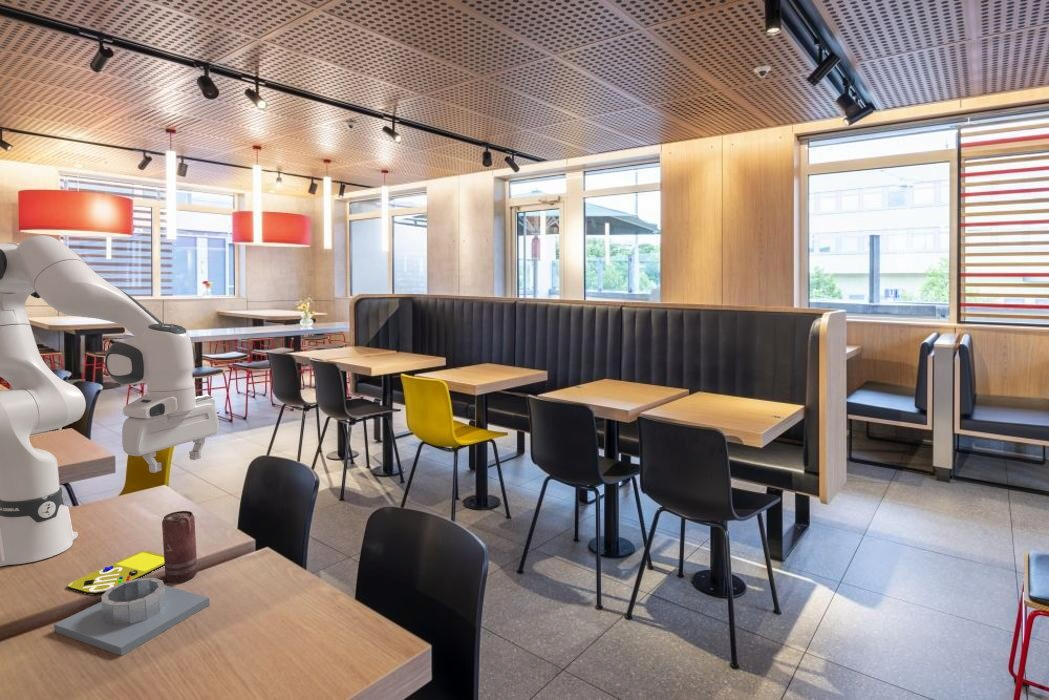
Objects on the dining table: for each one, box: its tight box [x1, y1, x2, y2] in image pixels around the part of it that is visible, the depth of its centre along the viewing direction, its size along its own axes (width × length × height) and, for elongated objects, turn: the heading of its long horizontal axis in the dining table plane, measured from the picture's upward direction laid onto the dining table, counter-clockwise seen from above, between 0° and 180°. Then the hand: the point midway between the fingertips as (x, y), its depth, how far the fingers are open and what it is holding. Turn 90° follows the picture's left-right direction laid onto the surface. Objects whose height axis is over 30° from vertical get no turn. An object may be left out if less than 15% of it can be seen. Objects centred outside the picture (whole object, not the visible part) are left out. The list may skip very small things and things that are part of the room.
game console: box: [67, 550, 165, 596], centre depth 135 cm, size 18×11×2 cm, turn 160°
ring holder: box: [100, 577, 166, 626], centre depth 118 cm, size 10×10×4 cm
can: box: [161, 510, 198, 584], centre depth 133 cm, size 6×6×14 cm
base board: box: [53, 584, 211, 657], centre depth 118 cm, size 18×18×2 cm
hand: (176, 465), depth 131 cm, fingers open, 8 cm apart
